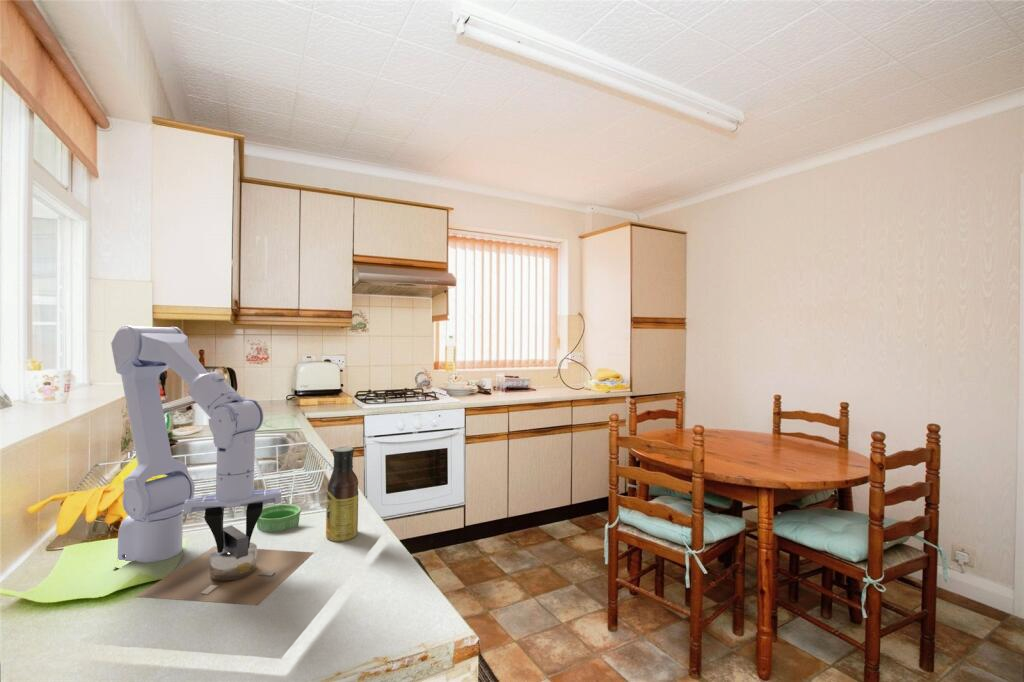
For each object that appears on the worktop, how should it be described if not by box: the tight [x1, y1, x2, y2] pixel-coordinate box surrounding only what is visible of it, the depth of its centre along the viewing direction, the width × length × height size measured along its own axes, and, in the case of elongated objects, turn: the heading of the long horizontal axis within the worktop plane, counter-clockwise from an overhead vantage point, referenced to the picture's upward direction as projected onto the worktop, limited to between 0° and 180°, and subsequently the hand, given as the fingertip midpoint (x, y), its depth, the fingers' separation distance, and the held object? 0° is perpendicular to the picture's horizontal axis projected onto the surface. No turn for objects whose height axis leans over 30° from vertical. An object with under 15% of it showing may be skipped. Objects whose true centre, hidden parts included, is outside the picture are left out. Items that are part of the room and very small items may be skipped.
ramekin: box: [256, 503, 302, 533], centre depth 105 cm, size 9×9×4 cm
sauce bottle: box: [325, 445, 359, 543], centre depth 100 cm, size 7×6×20 cm
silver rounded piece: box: [210, 524, 258, 581], centre depth 83 cm, size 8×7×7 cm
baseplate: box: [135, 545, 315, 606], centre depth 84 cm, size 20×18×2 cm
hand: (233, 548), depth 83 cm, fingers closed on silver rounded piece, 3 cm apart
